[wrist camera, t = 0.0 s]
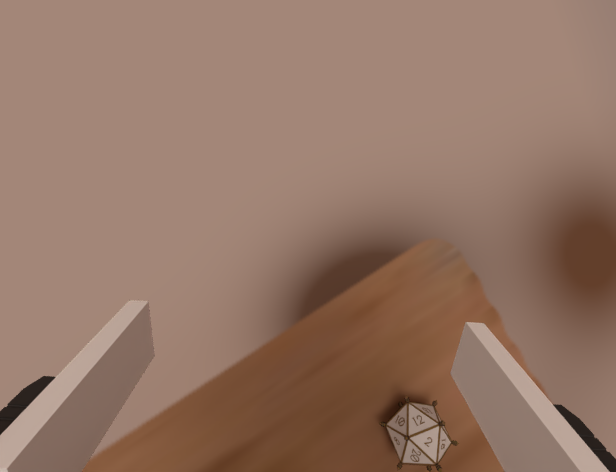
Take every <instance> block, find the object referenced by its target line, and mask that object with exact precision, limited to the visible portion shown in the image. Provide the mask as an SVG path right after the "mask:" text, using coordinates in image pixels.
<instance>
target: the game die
mask: <svg viewBox="0 0 616 472" xmlns="http://www.w3.org/2000/svg"><path fill="white" fill-rule="evenodd" d="M405 401H406V403H405V404H404V405H403V404H402V403H401V402H399V406H400V407H401V408H400V409H399V410H398V411H397V412H396V413H395V414H394V415H393V416H392V418H391V419H390V420H389V421H388V422H387V423H384V422H380V423H379V424H380V425H381V426H383V427H384V426H386V429H387V431H388V433H389V436H390V438H391V441H392V443H393V446H394V448H395V451H396V453H397V455H398V458H399V460H400V463H398V465H397V470H399V469H401V467H402V464H409V465H424V466H427V470H429V471H430V472H431V470H432V469H431V466H436V468H437V470H438V471H440V472H441V467H440V465H438V464H439V462H440V461H441V459H442V457H443V456H444V454H445V453H446V451H447V450H448V448H449V446H450V445H451V444H453V445H455V446H456V445H458V444H459V443H458V442H456V441H454V440H453V441H452V440H451V438H450V436H449V435H448V433H447V431H446V429H445V427H444V426H445V422H444V421H441V419H440V417H439V415H438V413H437V411H436V409H435V406H436V404H437V400H436V401H433V404H432V405H428V404H421V403H415V402H409V398H408V397H407V396H405Z"/></svg>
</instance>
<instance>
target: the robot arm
mask: <svg viewBox="0 0 616 472" xmlns="http://www.w3.org/2000/svg"><path fill="white" fill-rule="evenodd" d="M153 357H154V347H153V338H152V328H151V320H150V310H149V302H148V301H135V300H134V301H133V300H129V301H128V302H127V303H126V304H125V305H124V306H123V307H122V308H121V310H120V311H119V312H118V313H117V314H116V315H115V316H114V317H113V318H112V319H111V320H110V321H109V322H108V323H107V324H106V325H105V326H104V327H103V328H102V329H101V330H100V332H99V333H98V334H97V335H96V336H95V337H94V338H93V339H92V340H91V341H90V342H89V343H88V344H87V345H86V346H85V347H84V349H82V350H81V352H79V354H78V355H77V356H76V357H75V358H74V359H73V360H72V361H71V362H70V363H69V364H68V365H67V366H66V367H65V368H64V369H63V370H62V371H61V372H60V373H59V374H58V375H57V376H56V377H50V376H43V377H42V378H40V379H38V380H37V381H35V382H34V383H32V384H30V385H29V386H27V387H26V388H24V389H23V390H22V391H21V392H20V393H19V394H18V395H17V396H16V397H15V398H14V399H12V400H11V401H10V403H8V406H7V407H4V408H3V409H2V410H1V411H0V472H82V470H83V468H84V467H85V465H86V464H87V462H88V461H89V459H90V457H91V456H92V454H93V453H94V451H95V449H96V448H97V446H98V445H99V443H100V441H101V440H102V438H103V437H104V435H105V434H106V432H107V430H108V429H109V427H110V426H111V424H112V422H113V421H114V419H115V418H116V416H117V414H118V413H119V411H120V410H121V408H122V407H123V405H124V403H125V402H126V400H127V399H128V397H129V396H130V394H131V392H132V391H133V389H134V388H135V386H136V384H137V383H138V381H139V380H140V378H141V377H142V375H143V373H144V372H145V370H146V369H147V367H148V365H149V364H150V362H151V361H152V359H153ZM450 374H451V376H452V378H453V379H454V381H455V383H456V385H457V387H458V388H459V390H460V392H461V394H462V396H463V397H464V399H465V401H466V403H467V405H468V406H469V408H470V410H471V412H472V414H473V415H474V417H475V419H476V421H477V423H478V424H479V426H480V428H481V430H482V432H483V433H484V435H485V437H486V439H487V441H488V442H489V444H490V446H491V448H492V450H493V451H494V453H495V455H496V457H497V459H498V460H499V462H500V464H501V466H502V468H503V469H504V471H505V472H616V459H615V458H614V457H613V456H612V455H611V453H610V452H607V451H606V448H605V447H604V446H603V445H602V443H601V442H600V441H599V440H598V439H597V438H594V435H593V433H592V432H591V431H590V430H589V429H588V428H587V427H586V426H585V424H584V423H583V422H582V421H581V420H580V419H579V418H578V417H576V416H575V415H574V414H572V413H571V412H570V411H568V410H567V409H566V408H565V407H563V406H562V405H553V404H552V403H551V402H550V401H549V400H548V399H547V397H546V396H545V395H544V394H543V393H542V391H541V390H540V389H539V388H538V387H537V386H536V384H535V383H534V382H533V381H532V380H531V379H530V377H529V376H528V375H527V374H526V373H525V371H524V370H523V369H522V368H521V367H520V366H519V364H518V363H517V362H516V361H515V360H514V358H513V357H512V356H511V355H510V354H509V353H508V351H507V350H506V349H505V348H504V347H503V346H502V344H501V343H500V342H499V341H498V340H497V338H496V337H495V336H494V335H493V334H492V333H491V331H490V330H489V329H488V328H487V327H486V325H485V324H484V323H472V322H466V323H465V326H464V329H463V333H462V336H461V340H460V343H459V346H458V350H457V353H456V356H455V360H454V363H453V367H452V370H451V373H450Z"/></svg>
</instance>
